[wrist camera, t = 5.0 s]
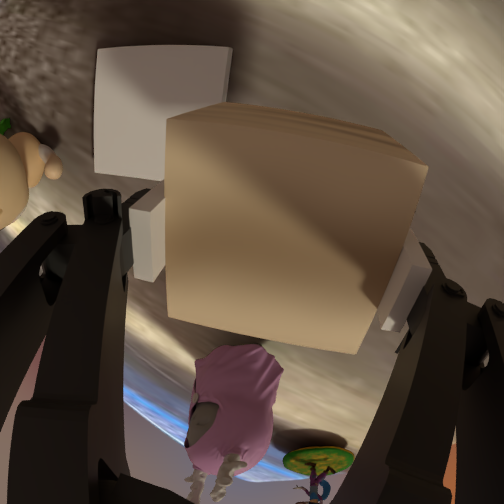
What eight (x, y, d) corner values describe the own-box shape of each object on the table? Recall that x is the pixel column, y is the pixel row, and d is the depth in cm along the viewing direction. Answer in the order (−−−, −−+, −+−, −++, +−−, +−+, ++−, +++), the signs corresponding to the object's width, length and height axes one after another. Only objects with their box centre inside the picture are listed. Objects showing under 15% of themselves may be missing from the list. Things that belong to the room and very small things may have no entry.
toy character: (232, 307, 35) (178, 478, 18) (303, 351, 37) (289, 513, 20) (183, 356, 41) (131, 489, 24) (246, 391, 43) (217, 521, 26)
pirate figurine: (369, 445, 48) (370, 517, 35) (324, 465, 54) (319, 528, 41) (311, 426, 46) (304, 509, 33) (268, 448, 52) (257, 518, 39)
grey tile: (106, 49, 23) (97, 49, 21) (233, 48, 22) (228, 47, 21) (102, 167, 29) (94, 172, 28) (216, 183, 28) (212, 188, 27)
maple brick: (224, 101, 15) (166, 118, 9) (382, 130, 14) (428, 166, 8) (212, 239, 19) (168, 316, 13) (346, 265, 18) (355, 354, 12)
